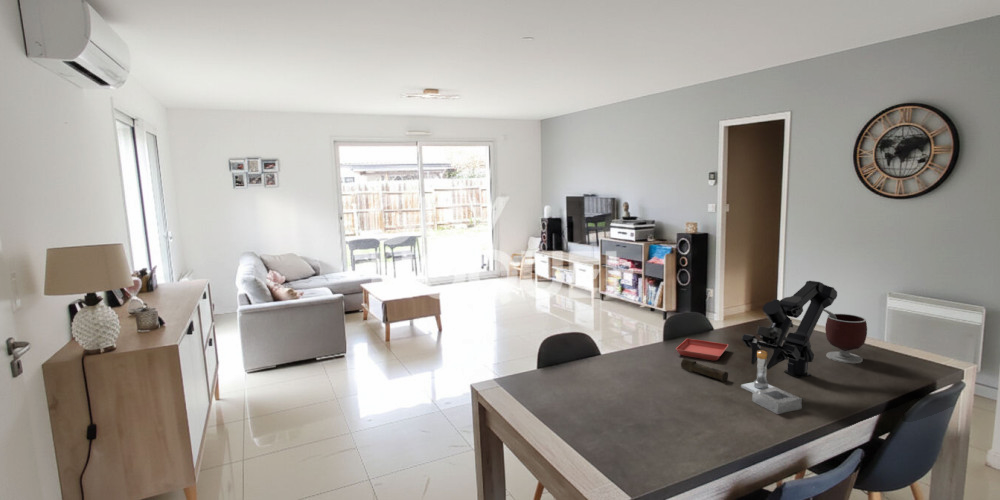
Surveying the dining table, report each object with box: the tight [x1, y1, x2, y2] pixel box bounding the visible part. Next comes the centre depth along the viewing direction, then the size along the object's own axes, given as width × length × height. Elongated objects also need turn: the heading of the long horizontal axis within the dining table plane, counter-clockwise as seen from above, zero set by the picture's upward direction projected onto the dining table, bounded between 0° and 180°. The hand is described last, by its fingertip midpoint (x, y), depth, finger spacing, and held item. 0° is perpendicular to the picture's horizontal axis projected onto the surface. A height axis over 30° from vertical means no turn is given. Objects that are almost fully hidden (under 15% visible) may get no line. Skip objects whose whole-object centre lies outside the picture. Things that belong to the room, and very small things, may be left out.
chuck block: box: [751, 386, 803, 415], centre depth 162 cm, size 10×10×4 cm
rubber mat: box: [740, 381, 775, 394], centre depth 174 cm, size 9×9×1 cm
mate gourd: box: [823, 308, 868, 364], centre depth 202 cm, size 16×14×20 cm
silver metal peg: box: [753, 349, 769, 390], centre depth 174 cm, size 4×4×13 cm
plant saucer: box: [675, 338, 730, 362], centre depth 214 cm, size 18×18×3 cm
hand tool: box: [680, 357, 729, 383], centre depth 190 cm, size 19×4×5 cm, turn 33°
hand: (759, 366), depth 173 cm, fingers open, 5 cm apart
